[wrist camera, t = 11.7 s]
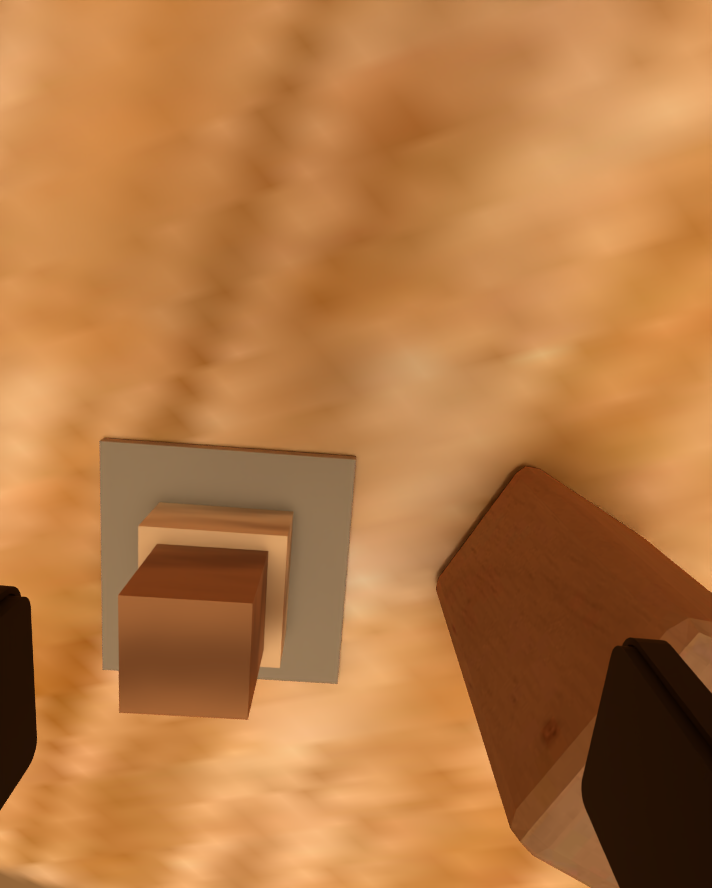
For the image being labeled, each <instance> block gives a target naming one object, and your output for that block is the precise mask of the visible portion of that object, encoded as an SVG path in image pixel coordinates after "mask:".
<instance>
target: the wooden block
mask: <svg viewBox="0 0 712 888" xmlns="http://www.w3.org/2000/svg"><path fill="white" fill-rule="evenodd" d="M436 591H437V594H438V597H439V600H440V604H441V607H442V610H443V613H444V616H445V620H446V623H447V626H448V629H449V632H450V636H451V639H452V642H453V645H454V649H455V652H456V655H457V658H458V661H459V665H460V668H461V671H462V674H463V678H464V681H465V684H466V687H467V690H468V694H469V697H470V700H471V703H472V706H473V710H474V713H475V716H476V719H477V723H478V726H479V729H480V732H481V735H482V739H483V742H484V745H485V748H486V751H487V755H488V758H489V761H490V764H491V768H492V771H493V774H494V777H495V780H496V784H497V787H498V790H499V793H500V797H501V800H502V803H503V806H504V809H505V813H506V816H507V819H508V822H509V825H510V828H511V830H512V831H513V833H514V834H515V835H516V837H517V838H518V839H519V841H520V842H521V843H522V844H523V845H524V846H525V847H526V849H527V850H528V851H529V852H530V853H531V854H532V855H533V856H535V857H537V858H538V859H540V860H542V861H544V862H546V863H547V864H549V865H551V866H553V867H555V868H557V869H558V870H560V871H562V872H564V873H566V874H567V875H569V876H571V877H573V878H575V879H576V880H578V881H580V882H582V883H584V884H585V885H587V886H589V887H591V888H619V886H618V883H617V881H616V879H615V876H614V874H613V872H612V869H611V867H610V865H609V862H608V860H607V858H606V855H605V853H604V851H603V849H602V846H601V844H600V842H599V839H598V837H597V835H596V832H595V830H594V828H593V825H592V823H591V821H590V818H589V816H588V814H587V812H586V809H585V807H584V804H583V799H582V792H581V783H582V777H583V773H584V768H585V764H586V760H587V756H588V751H589V747H590V743H591V738H592V734H593V730H594V726H595V721H596V717H597V713H598V708H599V704H600V700H601V696H602V691H603V687H604V683H605V678H606V674H607V670H608V665H609V661H610V657H611V653H612V650H613V649H614V647H615V646H617V645H618V646H622V644H623V642H624V641H625V640H626V639H627V638H629V637H632V638H644V639H656V640H664V641H667V642H668V643H669V644H670V645H671V646H672V647H673V648H674V649H675V651H676V652H677V653H678V654H679V655H680V656H681V658H682V659H683V660H684V661H685V662H686V664H687V665H688V666H689V667H690V668H691V669H692V671H693V672H694V673H695V674H696V675H697V677H698V678H699V679H700V680H701V681H702V682H703V684H704V685H705V686H706V687H707V688H708V689H709V691H710V692H711V693H712V593H711V592H710V591H708V590H707V589H706V588H705V587H704V586H702V585H701V584H700V583H699V582H697V581H696V580H695V579H694V578H692V577H691V576H690V575H689V574H687V573H686V572H685V571H684V570H683V569H681V568H680V567H679V566H678V565H676V564H675V563H674V562H673V561H671V560H670V559H669V558H668V557H666V556H665V555H664V554H663V553H662V552H660V551H659V550H658V549H657V548H655V547H654V546H653V545H652V544H650V543H649V542H648V541H647V540H646V539H644V538H643V537H641V536H640V535H638V534H637V533H635V532H634V531H632V530H631V529H629V528H628V527H626V526H625V525H623V524H622V523H620V522H619V521H617V520H616V519H614V518H613V517H611V516H610V515H608V514H607V513H605V512H604V511H602V510H601V509H599V508H598V507H596V506H595V505H593V504H592V503H590V502H589V501H587V500H586V499H584V498H583V497H581V496H580V495H578V494H577V493H575V492H574V491H572V490H571V489H569V488H568V487H566V486H565V485H563V484H562V483H560V482H559V481H557V480H556V479H554V478H553V477H551V476H550V475H548V474H547V473H545V472H544V471H542V470H541V469H538V468H532V467H524V468H523V469H521V470H520V471H519V472H517V473H516V474H515V476H514V477H513V478H512V480H511V481H510V482H509V484H508V485H507V486H506V488H505V489H504V490H503V492H502V493H501V494H500V496H499V497H498V498H497V500H496V501H495V503H494V504H493V505H492V507H491V508H490V509H489V511H488V512H487V513H486V515H485V516H484V517H483V519H482V520H481V521H480V523H479V524H478V526H477V527H476V528H475V530H474V531H473V532H472V534H471V535H470V536H469V538H468V539H467V540H466V542H465V543H464V544H463V546H462V547H461V548H460V550H459V551H458V553H457V554H456V555H455V557H454V558H453V559H452V561H451V562H450V563H449V565H448V566H447V567H446V569H445V570H444V571H443V573H442V574H441V575H440V577H439V579H438V583H437V587H436Z"/></svg>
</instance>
